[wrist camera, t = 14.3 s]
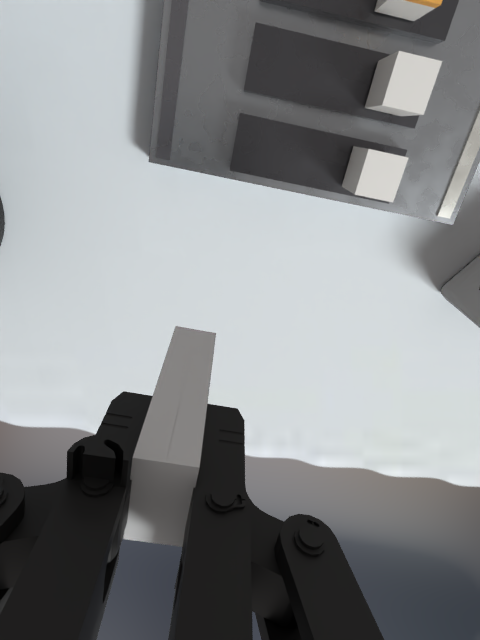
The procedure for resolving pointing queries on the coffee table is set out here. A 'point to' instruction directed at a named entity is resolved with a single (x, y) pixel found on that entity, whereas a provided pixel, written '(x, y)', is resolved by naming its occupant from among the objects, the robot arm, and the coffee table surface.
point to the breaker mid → (403, 84)
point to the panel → (227, 99)
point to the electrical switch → (465, 291)
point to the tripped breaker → (406, 8)
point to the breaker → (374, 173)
